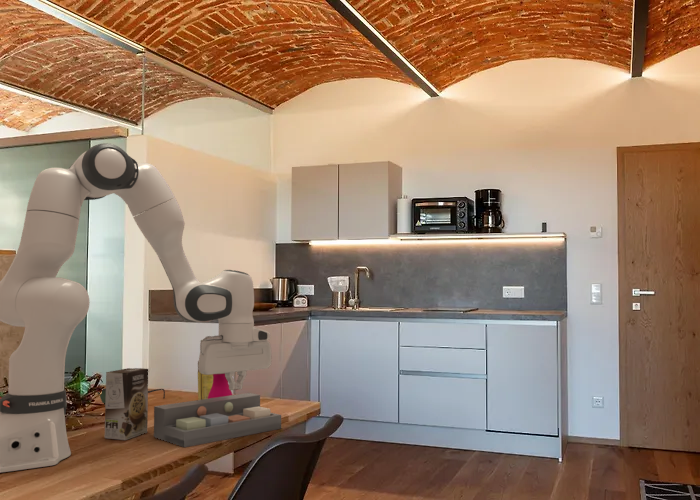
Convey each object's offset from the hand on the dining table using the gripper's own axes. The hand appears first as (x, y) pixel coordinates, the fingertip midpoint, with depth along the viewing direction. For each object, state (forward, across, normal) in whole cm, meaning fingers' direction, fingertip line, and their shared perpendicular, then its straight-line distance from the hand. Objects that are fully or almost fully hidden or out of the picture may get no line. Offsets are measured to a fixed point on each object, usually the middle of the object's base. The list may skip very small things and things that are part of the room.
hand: (235, 389), depth 175 cm
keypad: (+11, -3, +3) cm, 12 cm away
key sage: (+8, -13, 0) cm, 15 cm away
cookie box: (+11, -21, +16) cm, 29 cm away
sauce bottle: (+11, +16, +37) cm, 42 cm away
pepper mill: (+11, +9, +20) cm, 25 cm away
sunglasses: (+11, +3, +59) cm, 60 cm away
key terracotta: (+9, 0, 0) cm, 9 cm away
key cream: (+8, +7, 0) cm, 10 cm away
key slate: (+8, -6, 0) cm, 10 cm away
